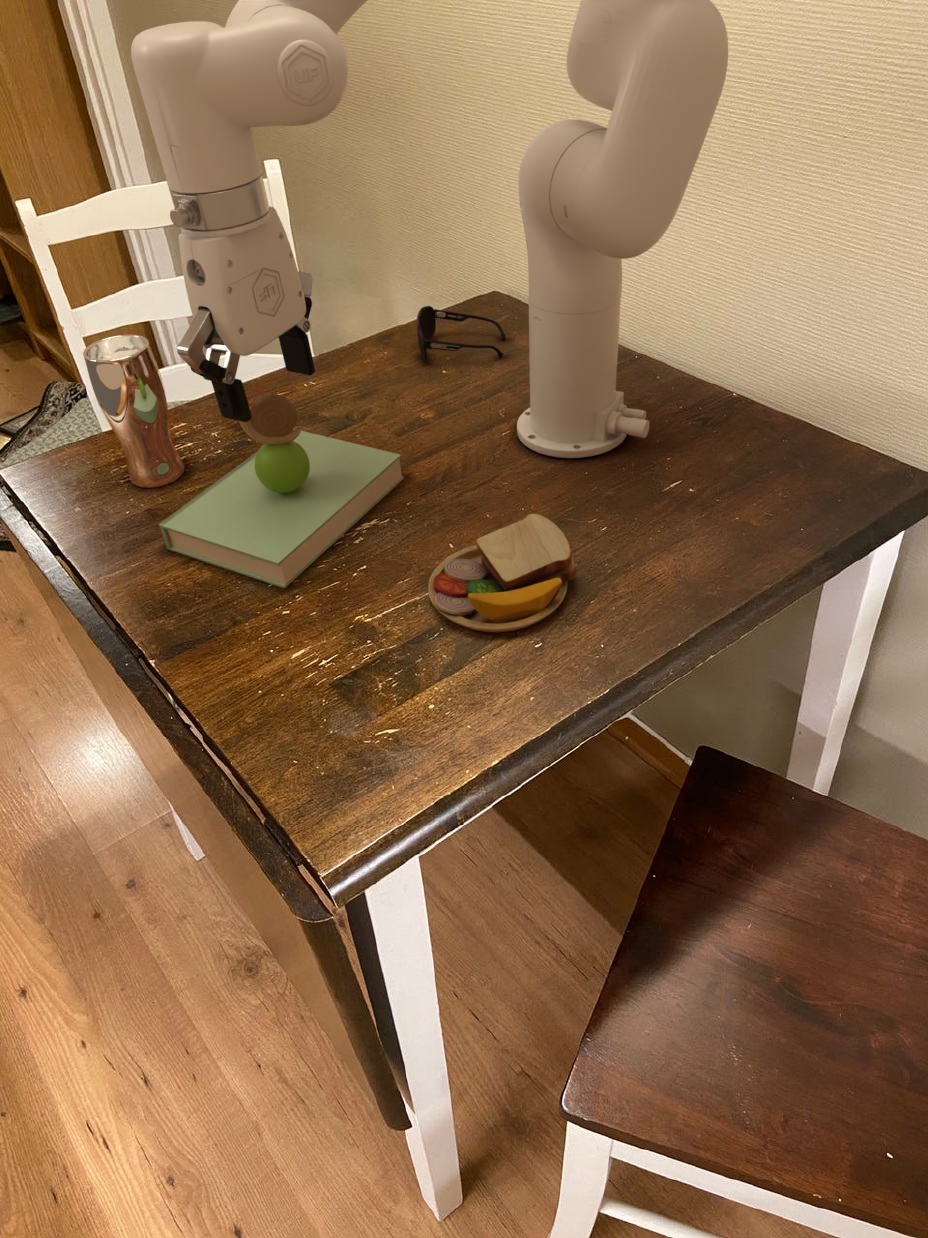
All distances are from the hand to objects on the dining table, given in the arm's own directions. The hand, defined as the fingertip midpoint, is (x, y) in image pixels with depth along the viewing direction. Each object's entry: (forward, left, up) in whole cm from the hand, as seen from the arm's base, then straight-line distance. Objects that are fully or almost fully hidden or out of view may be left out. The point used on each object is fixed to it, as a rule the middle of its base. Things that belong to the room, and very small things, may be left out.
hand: (270, 394), depth 84 cm
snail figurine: (0, +1, -10) cm, 10 cm away
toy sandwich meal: (-26, +3, -13) cm, 29 cm away
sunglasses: (+3, -41, -13) cm, 44 cm away
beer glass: (+19, +1, -13) cm, 24 cm away
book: (0, +1, -13) cm, 13 cm away
